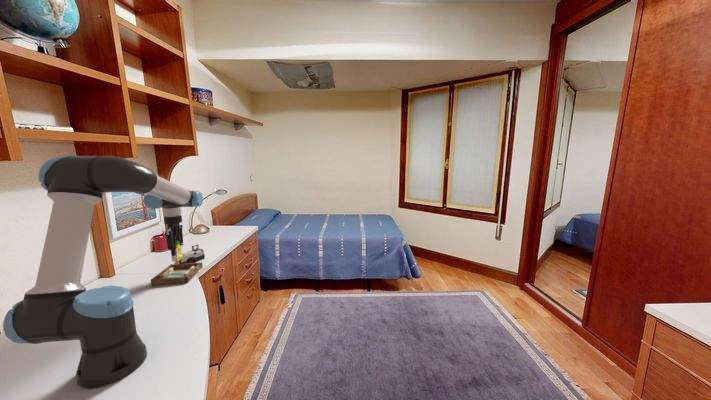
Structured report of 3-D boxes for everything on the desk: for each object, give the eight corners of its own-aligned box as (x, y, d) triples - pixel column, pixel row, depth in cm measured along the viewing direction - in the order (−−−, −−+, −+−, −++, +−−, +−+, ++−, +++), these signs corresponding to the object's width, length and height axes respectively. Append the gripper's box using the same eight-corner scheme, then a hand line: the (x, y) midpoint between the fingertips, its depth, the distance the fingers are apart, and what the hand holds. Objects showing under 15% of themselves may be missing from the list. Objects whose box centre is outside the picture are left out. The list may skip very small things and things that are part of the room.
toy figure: (167, 265, 132) (166, 242, 130) (169, 262, 135) (168, 240, 133) (182, 264, 134) (181, 242, 132) (184, 262, 137) (183, 240, 135)
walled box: (187, 283, 128) (187, 277, 127) (151, 286, 125) (150, 279, 125) (202, 268, 146) (202, 262, 146) (171, 270, 144) (170, 264, 143)
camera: (182, 269, 145) (180, 252, 144) (174, 266, 149) (172, 250, 147) (207, 260, 159) (206, 244, 157) (200, 258, 162) (198, 242, 161)
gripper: (172, 218, 123) (177, 265, 127) (188, 212, 140) (192, 253, 143) (155, 219, 122) (160, 266, 126) (172, 212, 138) (177, 254, 142)
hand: (177, 259), depth 134 cm, fingers closed on toy figure, 4 cm apart
